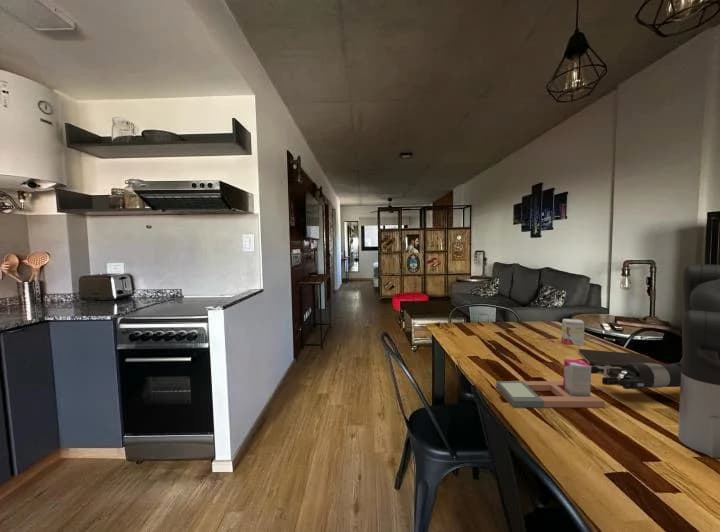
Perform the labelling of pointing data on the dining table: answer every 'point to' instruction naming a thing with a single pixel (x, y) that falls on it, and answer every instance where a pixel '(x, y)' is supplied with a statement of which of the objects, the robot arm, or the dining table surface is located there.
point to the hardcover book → (612, 357)
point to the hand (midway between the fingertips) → (593, 375)
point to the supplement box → (577, 378)
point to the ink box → (573, 332)
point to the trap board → (526, 397)
